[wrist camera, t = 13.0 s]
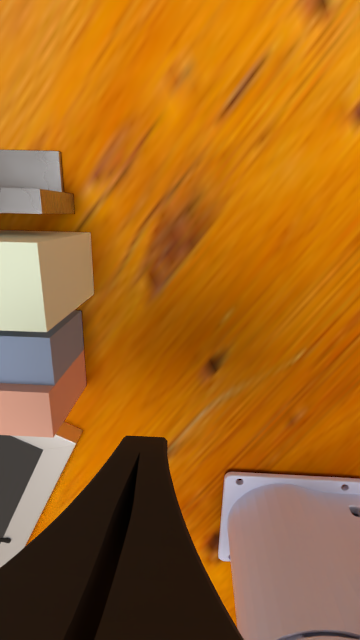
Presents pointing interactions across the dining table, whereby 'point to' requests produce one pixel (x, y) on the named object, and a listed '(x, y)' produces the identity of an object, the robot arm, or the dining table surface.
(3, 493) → the picture frame
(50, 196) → the bookend
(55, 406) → the shelved books
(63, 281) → the beige rectangular block
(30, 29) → the dining table surface
